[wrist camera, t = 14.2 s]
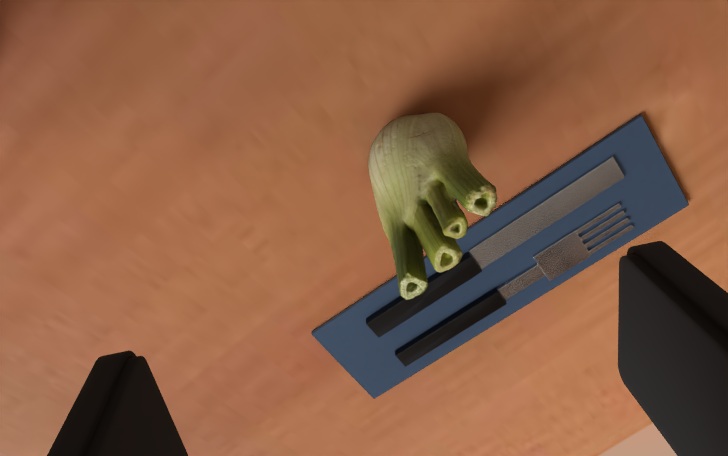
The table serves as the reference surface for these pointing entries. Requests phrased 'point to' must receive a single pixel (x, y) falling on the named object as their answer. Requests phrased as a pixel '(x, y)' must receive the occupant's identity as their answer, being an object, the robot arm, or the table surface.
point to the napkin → (511, 257)
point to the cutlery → (498, 244)
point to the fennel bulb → (425, 194)
